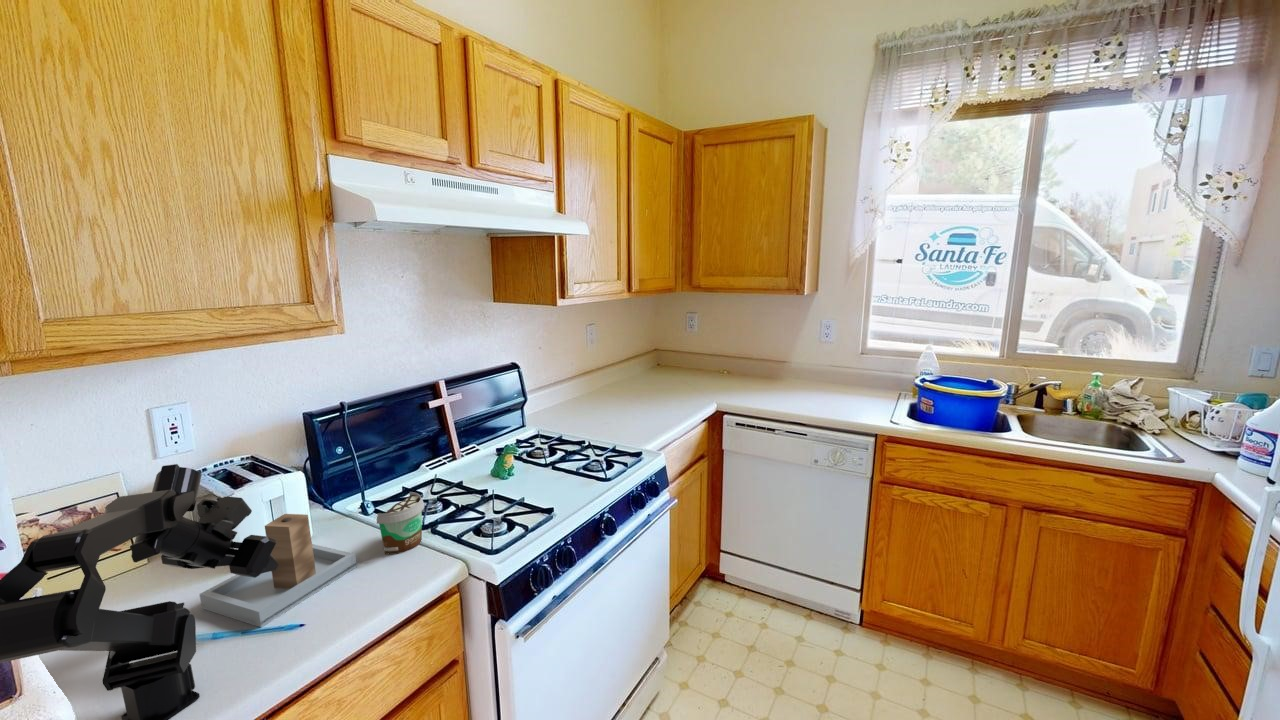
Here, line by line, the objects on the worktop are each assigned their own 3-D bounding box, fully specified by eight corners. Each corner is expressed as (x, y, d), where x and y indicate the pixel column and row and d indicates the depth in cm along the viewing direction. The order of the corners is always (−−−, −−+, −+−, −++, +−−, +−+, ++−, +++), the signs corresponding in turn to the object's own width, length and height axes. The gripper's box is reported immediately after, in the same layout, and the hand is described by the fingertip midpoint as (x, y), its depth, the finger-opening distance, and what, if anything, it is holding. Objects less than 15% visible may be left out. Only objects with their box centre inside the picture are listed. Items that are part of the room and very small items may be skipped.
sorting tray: (261, 627, 94) (258, 611, 93) (202, 608, 99) (199, 593, 99) (356, 566, 112) (355, 553, 111) (302, 553, 117) (300, 541, 117)
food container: (405, 560, 114) (401, 517, 112) (380, 557, 115) (375, 514, 114) (438, 532, 126) (434, 492, 124) (415, 530, 127) (411, 490, 125)
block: (297, 589, 103) (288, 526, 100) (274, 587, 103) (264, 525, 101) (316, 574, 108) (307, 513, 105) (293, 573, 108) (284, 513, 106)
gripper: (257, 494, 87) (319, 525, 99) (167, 486, 91) (238, 516, 103) (217, 564, 81) (289, 588, 93) (123, 552, 85) (204, 576, 97)
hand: (255, 564), depth 97 cm, fingers open, 9 cm apart
